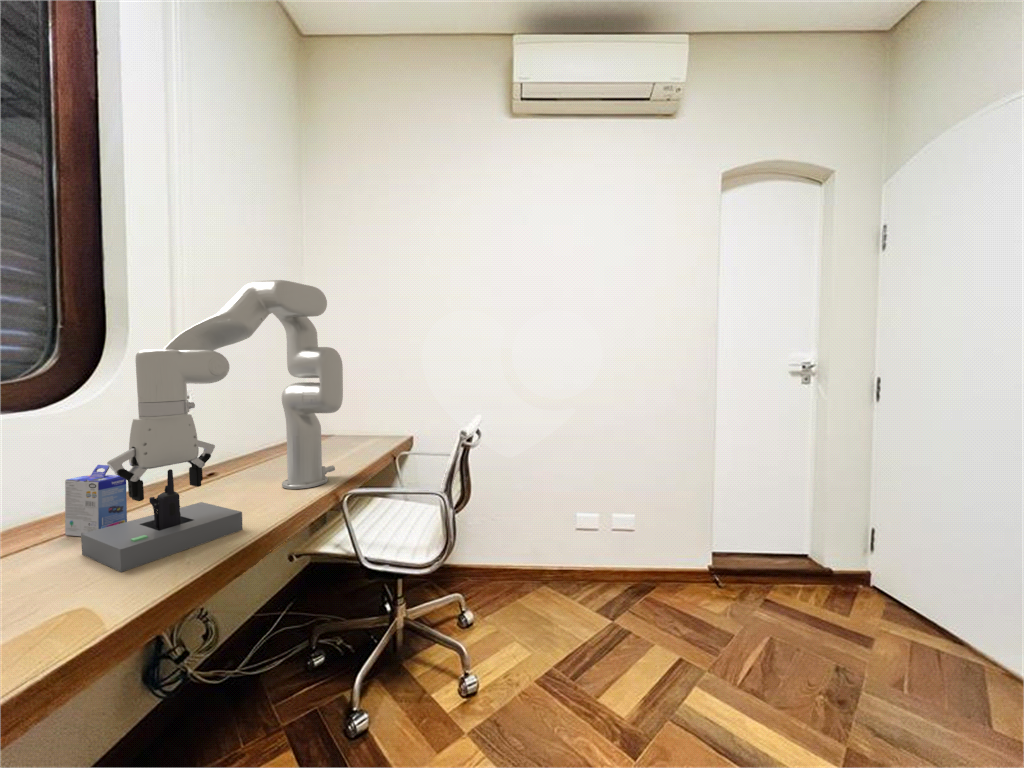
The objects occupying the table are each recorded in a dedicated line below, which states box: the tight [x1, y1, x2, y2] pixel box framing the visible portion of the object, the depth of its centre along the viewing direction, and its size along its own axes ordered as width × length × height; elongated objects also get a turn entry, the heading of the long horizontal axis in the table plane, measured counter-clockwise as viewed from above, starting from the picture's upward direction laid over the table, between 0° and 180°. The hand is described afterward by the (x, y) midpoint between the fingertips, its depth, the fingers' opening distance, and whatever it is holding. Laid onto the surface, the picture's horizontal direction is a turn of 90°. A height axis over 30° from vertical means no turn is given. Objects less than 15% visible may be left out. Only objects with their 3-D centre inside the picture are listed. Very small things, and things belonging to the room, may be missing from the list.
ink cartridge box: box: [64, 464, 128, 537], centre depth 85 cm, size 10×6×14 cm, turn 78°
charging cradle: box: [80, 501, 244, 573], centre depth 80 cm, size 20×16×4 cm
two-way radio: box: [148, 469, 181, 531], centre depth 79 cm, size 6×4×15 cm
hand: (168, 492), depth 80 cm, fingers open, 9 cm apart
